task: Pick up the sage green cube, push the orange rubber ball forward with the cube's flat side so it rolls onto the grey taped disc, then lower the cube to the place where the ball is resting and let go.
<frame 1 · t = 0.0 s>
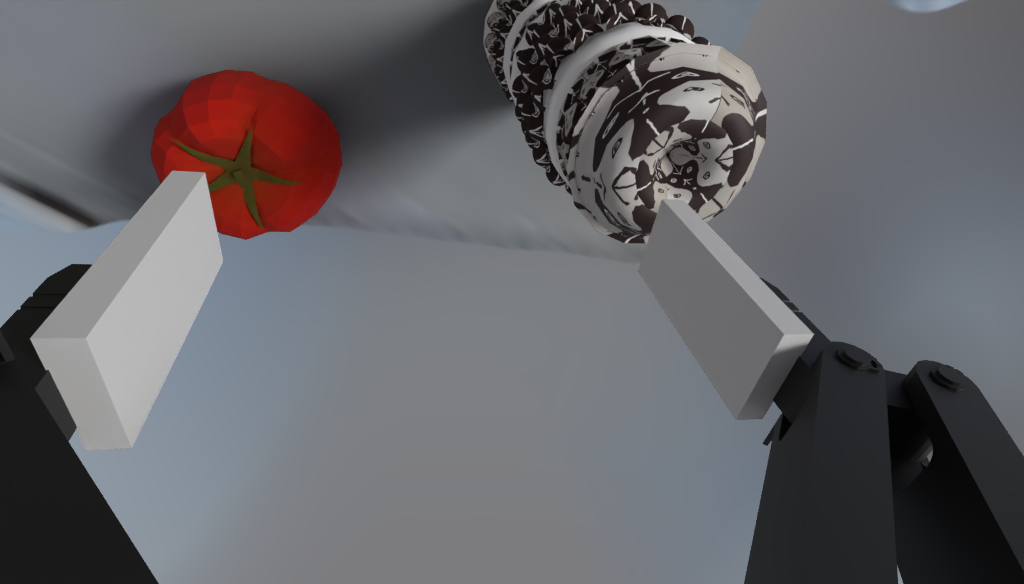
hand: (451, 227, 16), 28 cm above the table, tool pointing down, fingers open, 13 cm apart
decorative candle: (537, 35, 39), on the table
tomato: (265, 131, 40), on the table
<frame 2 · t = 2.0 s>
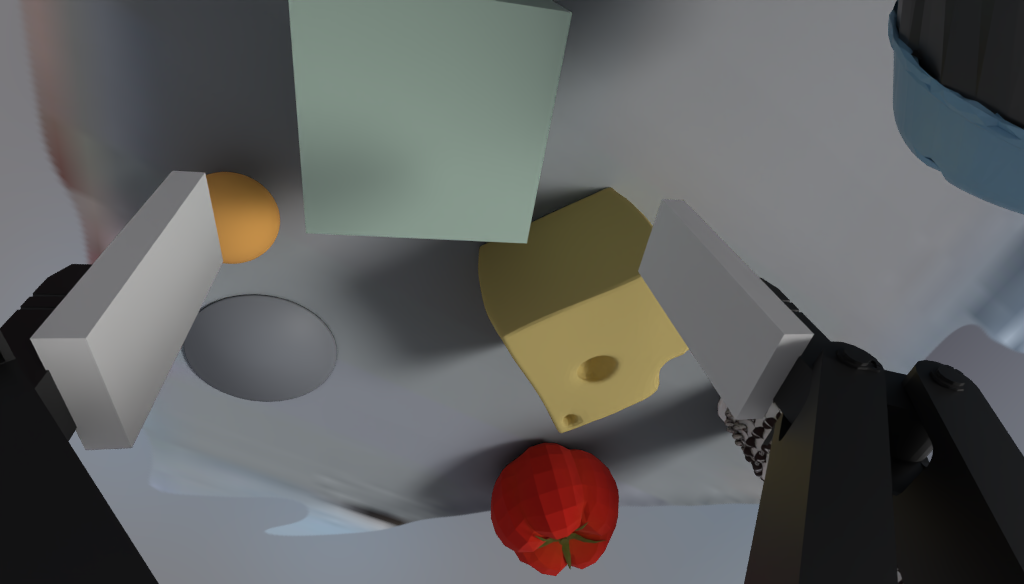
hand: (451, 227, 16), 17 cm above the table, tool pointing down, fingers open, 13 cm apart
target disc: (263, 351, 38), on the table
decorative candle: (757, 394, 51), on the table
sage green cube: (420, 76, 29), on the table
tomato: (544, 462, 52), on the table
cheese: (564, 265, 38), on the table
ball: (230, 218, 29), on the table
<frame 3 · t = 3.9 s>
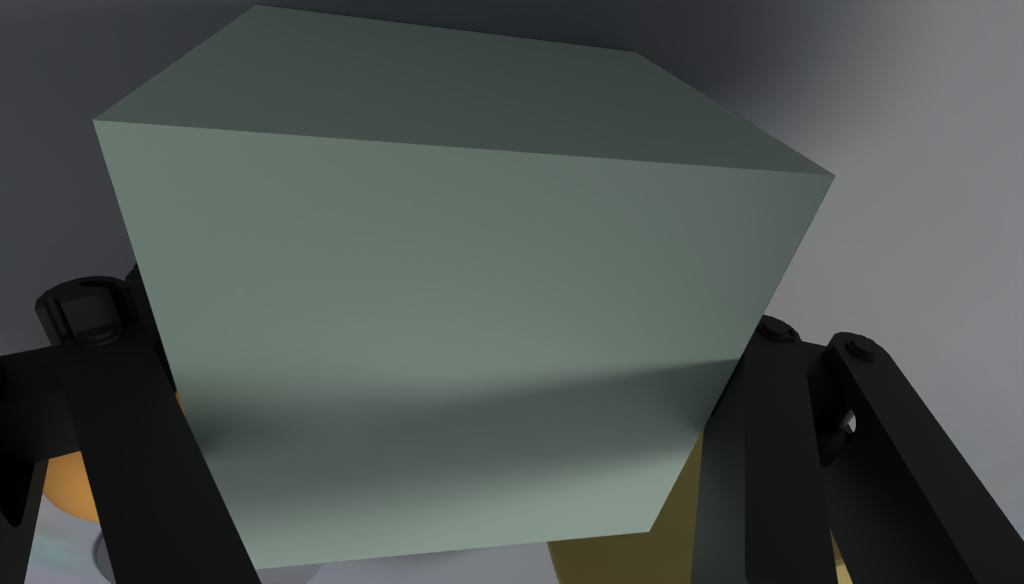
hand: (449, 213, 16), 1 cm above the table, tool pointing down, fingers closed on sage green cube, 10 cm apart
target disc: (217, 556, 26), on the table
sage green cube: (447, 202, 17), on the table, touching gripper
cheese: (647, 425, 27), on the table
ball: (133, 440, 17), on the table
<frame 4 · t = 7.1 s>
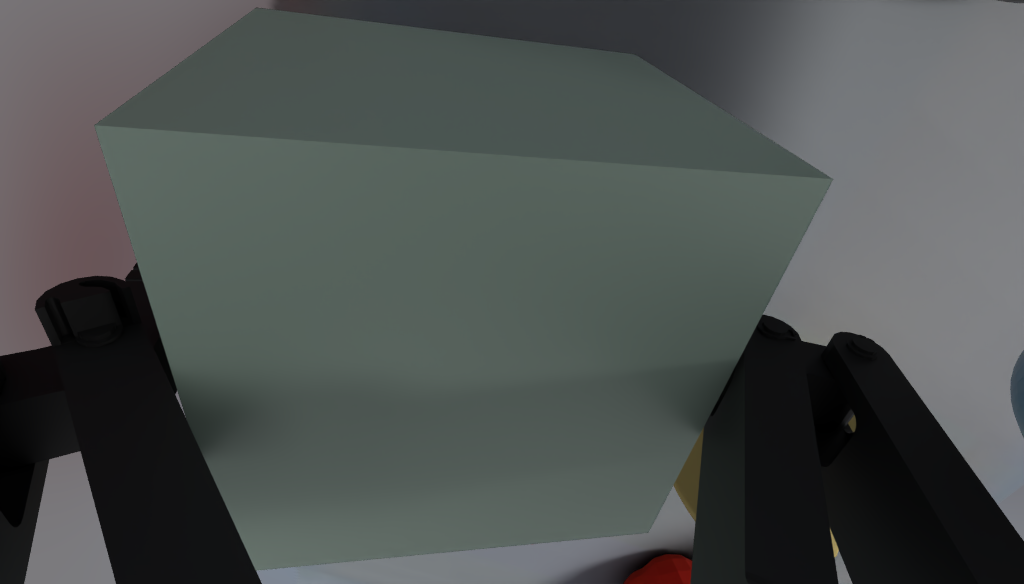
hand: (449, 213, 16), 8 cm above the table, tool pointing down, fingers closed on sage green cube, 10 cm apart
sage green cube: (447, 203, 17), point 7 cm above the table, touching gripper
tomato: (661, 566, 52), on the table
cheese: (718, 406, 38), on the table
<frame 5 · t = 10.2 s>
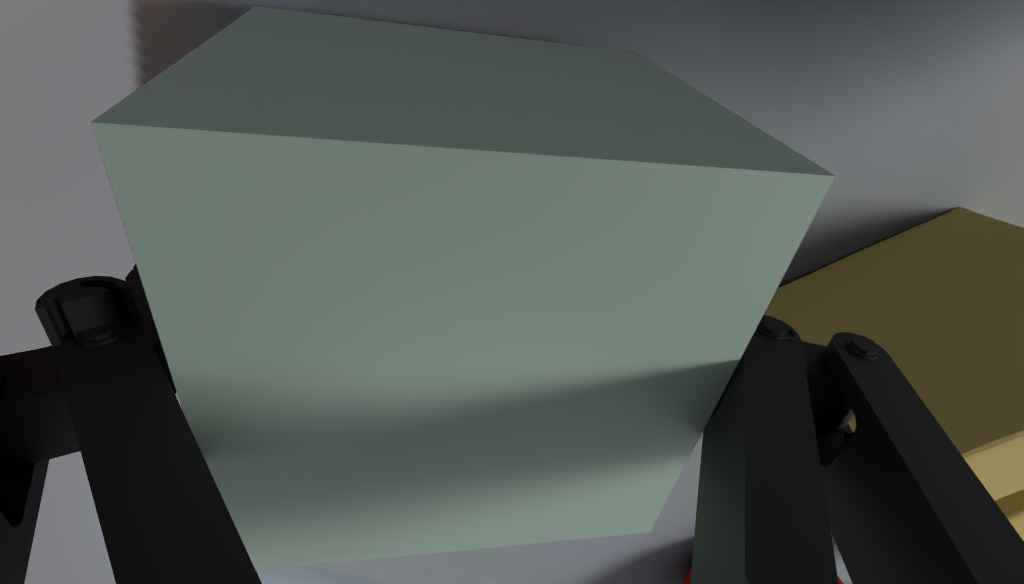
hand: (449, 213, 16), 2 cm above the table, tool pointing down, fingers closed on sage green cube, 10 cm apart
sage green cube: (447, 202, 17), point 2 cm above the table, touching gripper
cheese: (850, 316, 27), on the table
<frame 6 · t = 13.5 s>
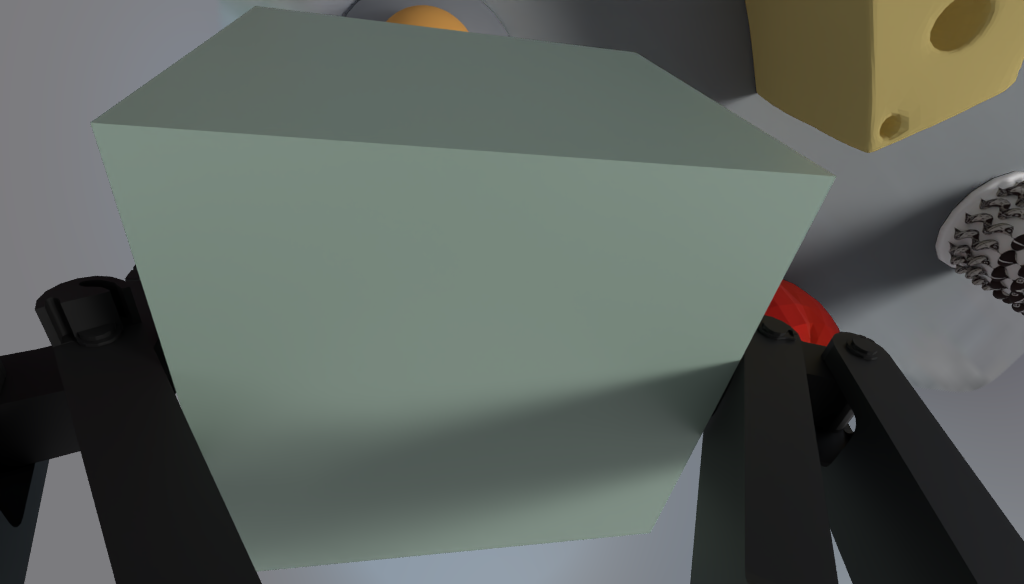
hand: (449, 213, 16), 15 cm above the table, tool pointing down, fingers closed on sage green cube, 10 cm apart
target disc: (427, 85, 28), on the table
decorative candle: (985, 219, 42), on the table
sage green cube: (447, 203, 17), point 14 cm above the table, touching gripper
tomato: (719, 307, 42), on the table
ball: (426, 64, 25), on the table
when the fingers open (1 cm above the table, at t = 16.3 s): sage green cube stays where it is, on the table.
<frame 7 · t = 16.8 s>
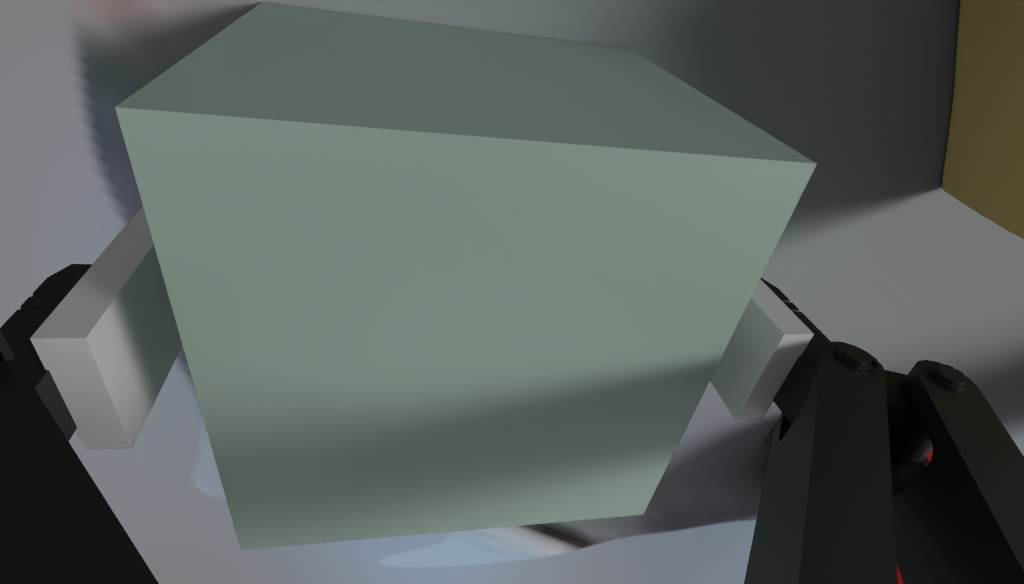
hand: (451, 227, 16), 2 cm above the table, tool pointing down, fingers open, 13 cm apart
sage green cube: (447, 195, 17), on the table
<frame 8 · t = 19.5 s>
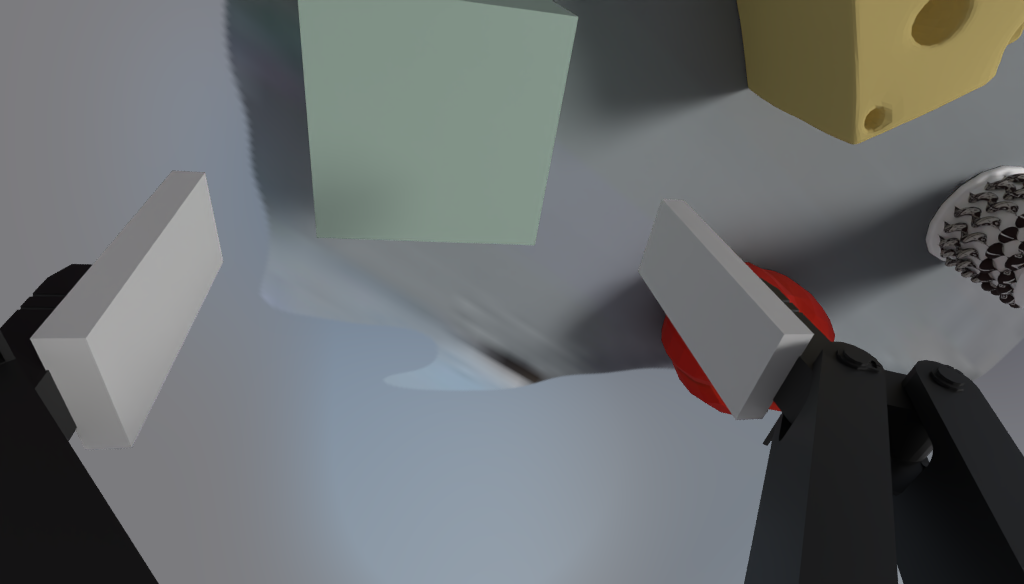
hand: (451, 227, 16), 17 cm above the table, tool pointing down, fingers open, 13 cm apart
decorative candle: (975, 213, 42), on the table
sage green cube: (427, 80, 29), on the table
tomato: (714, 300, 43), on the table
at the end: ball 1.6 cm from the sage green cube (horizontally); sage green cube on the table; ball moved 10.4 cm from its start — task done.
